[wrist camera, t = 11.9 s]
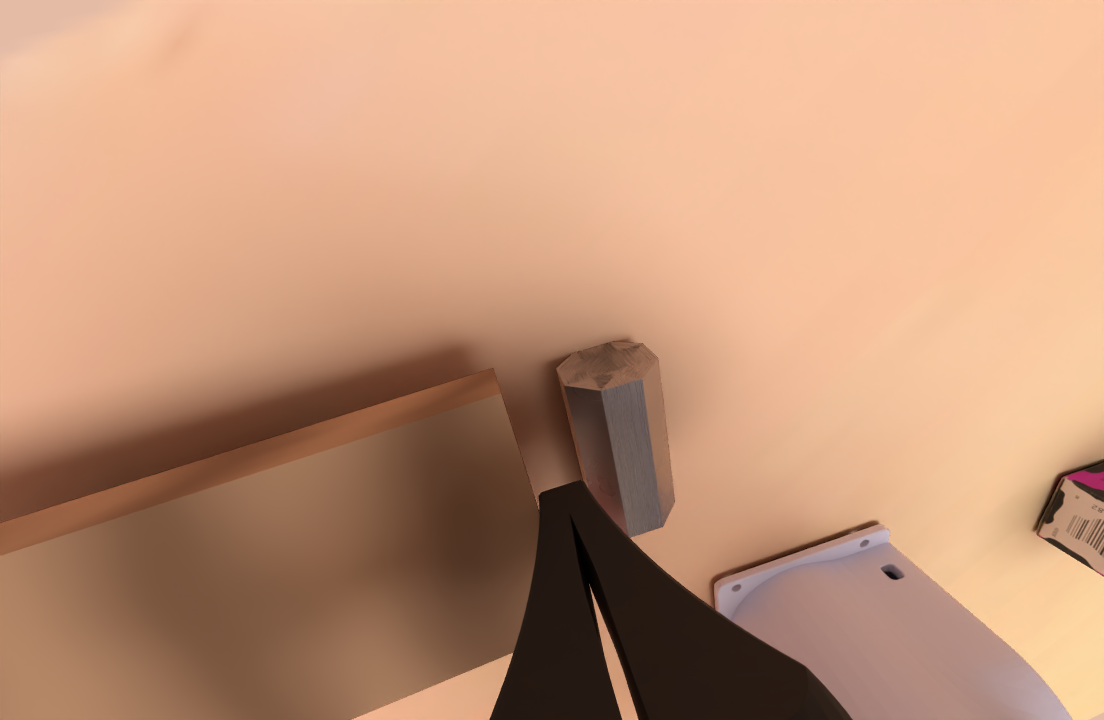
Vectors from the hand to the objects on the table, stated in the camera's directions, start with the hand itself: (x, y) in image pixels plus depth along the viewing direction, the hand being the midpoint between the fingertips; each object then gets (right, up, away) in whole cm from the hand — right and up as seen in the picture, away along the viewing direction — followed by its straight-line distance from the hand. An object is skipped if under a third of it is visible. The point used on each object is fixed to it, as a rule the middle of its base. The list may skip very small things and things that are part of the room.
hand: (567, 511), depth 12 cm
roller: (+3, +2, +3) cm, 5 cm away
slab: (-9, -2, 0) cm, 9 cm away
